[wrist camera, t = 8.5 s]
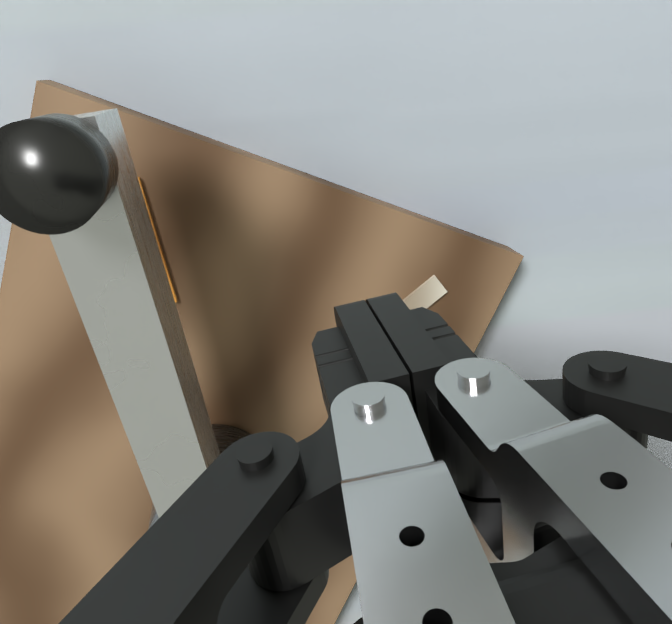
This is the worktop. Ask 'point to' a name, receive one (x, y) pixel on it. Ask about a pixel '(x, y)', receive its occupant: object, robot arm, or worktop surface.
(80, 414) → the dial plate
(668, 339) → the worktop surface
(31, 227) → the lever
